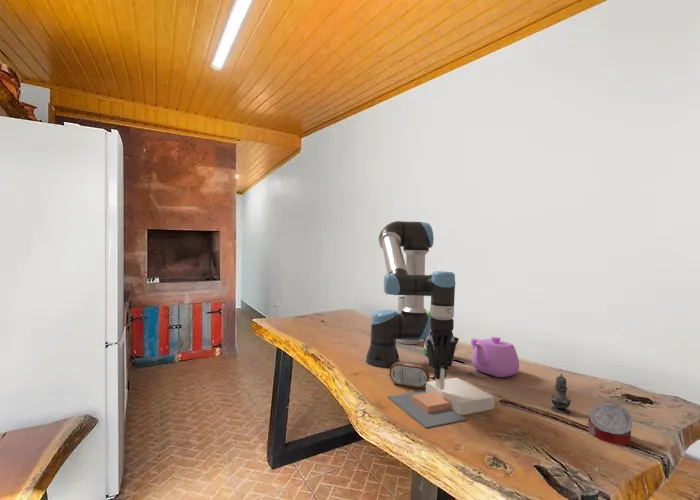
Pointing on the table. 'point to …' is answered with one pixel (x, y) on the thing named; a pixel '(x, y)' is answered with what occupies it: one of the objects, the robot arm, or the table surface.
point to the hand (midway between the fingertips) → (439, 387)
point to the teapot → (495, 357)
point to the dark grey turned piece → (560, 396)
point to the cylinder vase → (400, 305)
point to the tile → (431, 402)
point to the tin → (409, 374)
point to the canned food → (610, 424)
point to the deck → (463, 396)
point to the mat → (422, 416)
